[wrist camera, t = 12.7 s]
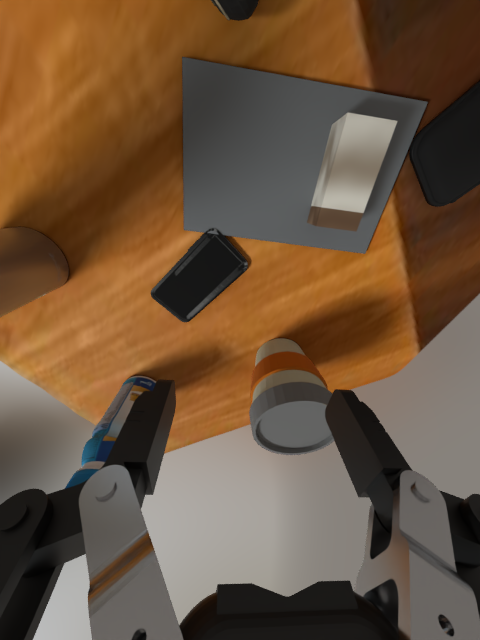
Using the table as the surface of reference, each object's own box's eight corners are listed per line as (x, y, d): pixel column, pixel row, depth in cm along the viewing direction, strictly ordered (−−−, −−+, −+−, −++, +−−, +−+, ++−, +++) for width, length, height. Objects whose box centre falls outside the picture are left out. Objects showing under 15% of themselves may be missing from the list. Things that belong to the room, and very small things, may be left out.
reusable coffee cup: (317, 370, 43) (350, 445, 30) (258, 386, 45) (266, 462, 32) (304, 321, 37) (338, 388, 24) (237, 341, 39) (236, 413, 26)
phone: (250, 266, 31) (185, 324, 37) (250, 264, 32) (186, 321, 38) (212, 223, 28) (147, 293, 34) (213, 222, 29) (149, 291, 35)
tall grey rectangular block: (331, 124, 24) (347, 112, 20) (374, 131, 24) (397, 120, 20) (306, 222, 29) (316, 226, 25) (342, 227, 29) (356, 231, 25)
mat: (184, 229, 29) (183, 229, 29) (183, 60, 21) (182, 56, 21) (362, 252, 31) (365, 253, 31) (423, 104, 23) (427, 101, 23)
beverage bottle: (118, 373, 43) (38, 491, 26) (160, 373, 43) (107, 491, 26) (129, 401, 48) (66, 518, 30) (166, 401, 48) (125, 518, 30)
